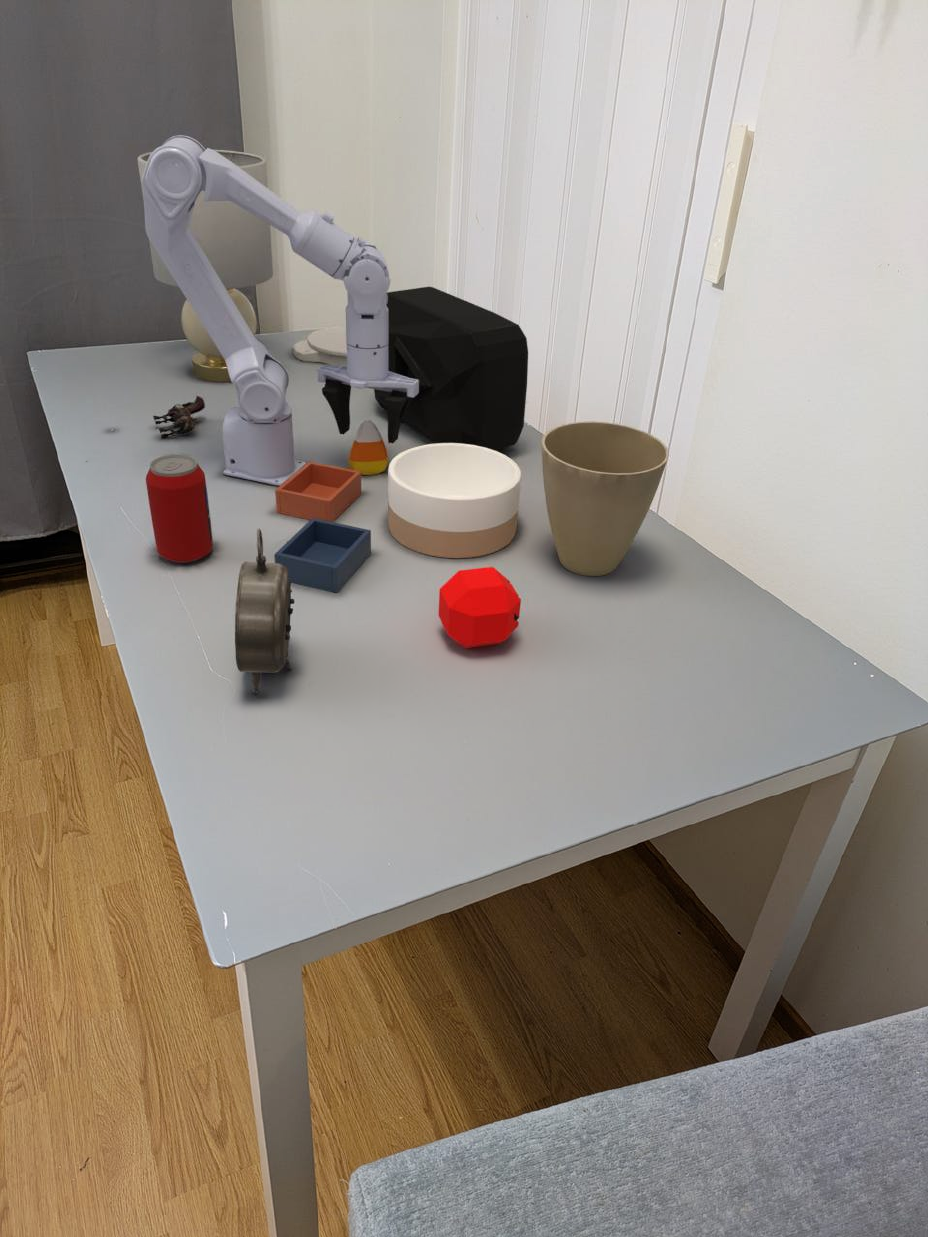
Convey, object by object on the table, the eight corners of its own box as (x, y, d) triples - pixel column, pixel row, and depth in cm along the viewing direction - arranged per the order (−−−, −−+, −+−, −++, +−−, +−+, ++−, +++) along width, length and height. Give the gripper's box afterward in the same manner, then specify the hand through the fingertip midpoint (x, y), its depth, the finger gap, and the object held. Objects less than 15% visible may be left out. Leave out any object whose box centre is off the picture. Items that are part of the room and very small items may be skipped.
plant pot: (509, 543, 119) (520, 428, 110) (608, 527, 124) (625, 415, 116) (564, 603, 108) (581, 480, 99) (669, 582, 113) (694, 463, 104)
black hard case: (522, 456, 143) (534, 327, 131) (459, 473, 136) (466, 339, 125) (413, 395, 162) (415, 278, 151) (353, 407, 156) (351, 287, 145)
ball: (522, 652, 99) (529, 593, 95) (452, 662, 97) (455, 602, 93) (499, 612, 106) (504, 555, 101) (433, 620, 104) (435, 562, 99)
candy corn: (386, 466, 137) (386, 415, 133) (390, 474, 135) (390, 423, 130) (346, 468, 136) (345, 417, 131) (350, 477, 133) (349, 425, 129)
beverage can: (224, 546, 115) (214, 457, 108) (194, 571, 110) (182, 480, 103) (178, 535, 117) (165, 447, 110) (146, 559, 111) (131, 469, 105)
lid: (291, 340, 184) (290, 325, 182) (390, 339, 188) (390, 324, 186) (296, 369, 170) (295, 353, 168) (402, 367, 174) (403, 351, 172)
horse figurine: (125, 464, 139) (220, 433, 143) (116, 442, 137) (213, 411, 141) (114, 436, 145) (205, 407, 149) (105, 414, 142) (198, 385, 146)
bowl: (421, 569, 113) (423, 509, 108) (367, 509, 125) (367, 453, 120) (540, 543, 120) (546, 485, 115) (478, 489, 132) (481, 434, 127)
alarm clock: (249, 638, 99) (236, 504, 90) (300, 638, 99) (292, 504, 90) (237, 703, 90) (221, 560, 81) (293, 702, 90) (283, 561, 81)
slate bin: (276, 578, 109) (274, 554, 107) (313, 541, 117) (312, 517, 115) (337, 592, 107) (336, 568, 106) (371, 553, 115) (371, 530, 113)
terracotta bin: (276, 512, 123) (275, 489, 121) (310, 483, 131) (309, 461, 129) (330, 524, 121) (329, 501, 119) (361, 493, 129) (361, 471, 127)
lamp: (175, 353, 174) (149, 146, 155) (282, 354, 177) (270, 151, 157) (158, 390, 158) (126, 164, 138) (276, 391, 160) (261, 169, 140)
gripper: (305, 342, 123) (310, 437, 131) (406, 358, 120) (405, 455, 127) (328, 328, 129) (332, 420, 136) (425, 343, 125) (423, 436, 133)
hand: (368, 436), depth 132 cm, fingers open, 7 cm apart
